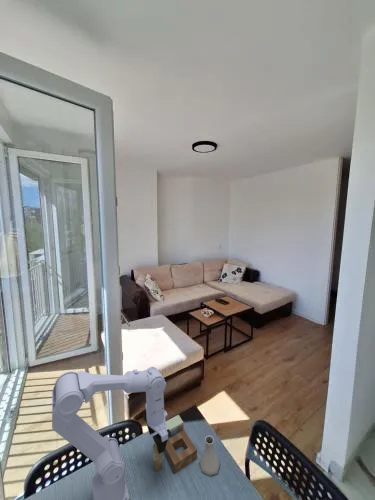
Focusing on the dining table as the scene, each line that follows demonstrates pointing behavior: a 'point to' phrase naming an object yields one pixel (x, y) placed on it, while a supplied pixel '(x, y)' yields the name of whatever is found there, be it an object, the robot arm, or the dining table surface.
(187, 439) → the socket
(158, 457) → the peg
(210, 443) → the flask
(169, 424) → the bench
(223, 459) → the dining table surface
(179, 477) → the dining table surface
